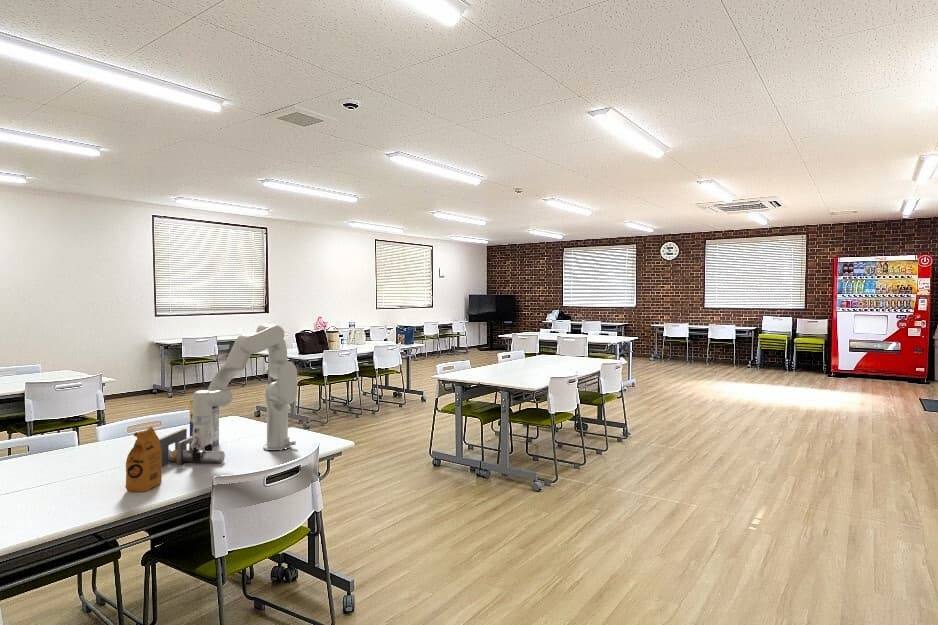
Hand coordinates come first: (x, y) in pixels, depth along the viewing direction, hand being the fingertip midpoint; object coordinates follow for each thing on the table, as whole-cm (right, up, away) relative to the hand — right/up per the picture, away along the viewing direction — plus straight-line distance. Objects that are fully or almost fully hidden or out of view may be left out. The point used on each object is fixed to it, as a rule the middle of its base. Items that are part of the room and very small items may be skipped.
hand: (202, 458), depth 244 cm
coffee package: (-7, -3, -32) cm, 32 cm away
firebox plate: (-14, -2, +1) cm, 14 cm away
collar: (-7, -2, 0) cm, 8 cm away
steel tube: (-3, -2, 0) cm, 4 cm away
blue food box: (-12, -1, +27) cm, 29 cm away
